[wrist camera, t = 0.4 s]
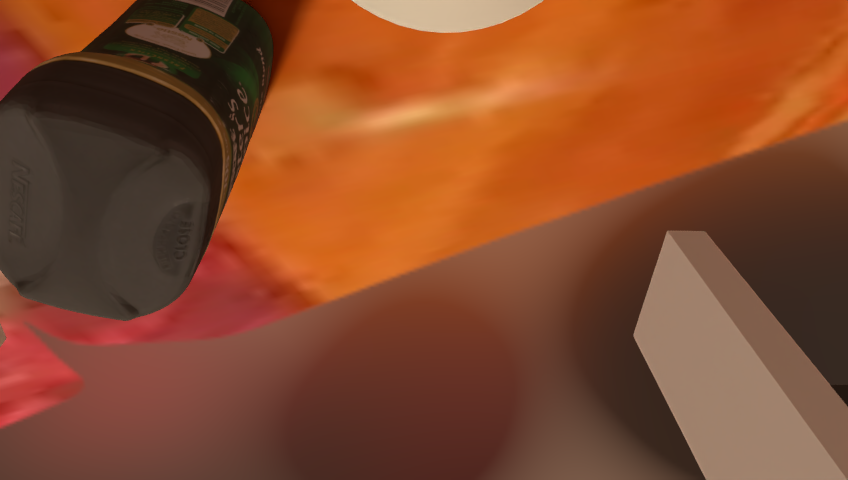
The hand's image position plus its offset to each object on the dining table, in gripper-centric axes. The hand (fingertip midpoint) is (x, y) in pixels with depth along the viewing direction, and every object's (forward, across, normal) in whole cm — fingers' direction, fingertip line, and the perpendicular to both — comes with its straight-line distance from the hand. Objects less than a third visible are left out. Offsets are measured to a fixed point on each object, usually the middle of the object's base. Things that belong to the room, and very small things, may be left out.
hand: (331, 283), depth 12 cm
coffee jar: (+27, -9, -5) cm, 29 cm away
